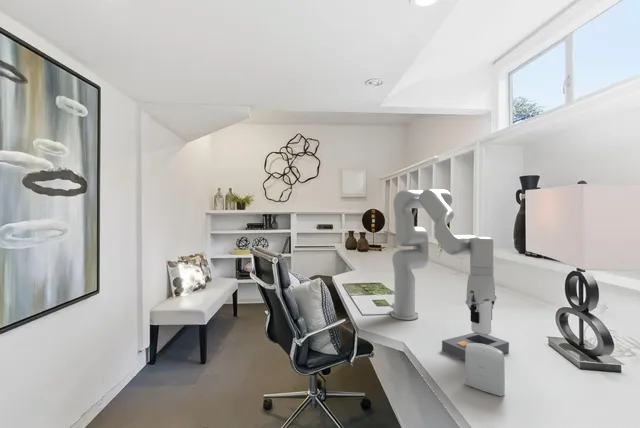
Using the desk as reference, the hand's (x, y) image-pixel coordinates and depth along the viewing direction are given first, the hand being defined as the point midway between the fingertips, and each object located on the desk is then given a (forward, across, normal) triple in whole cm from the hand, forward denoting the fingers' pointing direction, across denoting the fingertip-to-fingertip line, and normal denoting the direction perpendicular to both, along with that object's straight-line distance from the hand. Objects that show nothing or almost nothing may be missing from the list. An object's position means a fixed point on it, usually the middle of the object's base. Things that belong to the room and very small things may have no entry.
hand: (481, 320), depth 121 cm
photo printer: (+11, +23, +18) cm, 31 cm away
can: (+4, 0, 0) cm, 4 cm away
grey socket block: (+11, +3, 0) cm, 11 cm away
